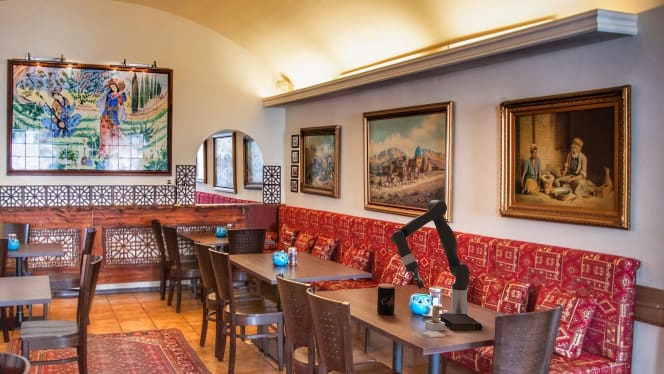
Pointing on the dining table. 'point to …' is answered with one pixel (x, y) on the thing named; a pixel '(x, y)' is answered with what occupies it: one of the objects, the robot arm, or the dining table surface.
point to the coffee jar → (386, 299)
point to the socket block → (435, 326)
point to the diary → (459, 322)
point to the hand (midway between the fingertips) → (421, 288)
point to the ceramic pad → (433, 334)
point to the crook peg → (436, 313)
